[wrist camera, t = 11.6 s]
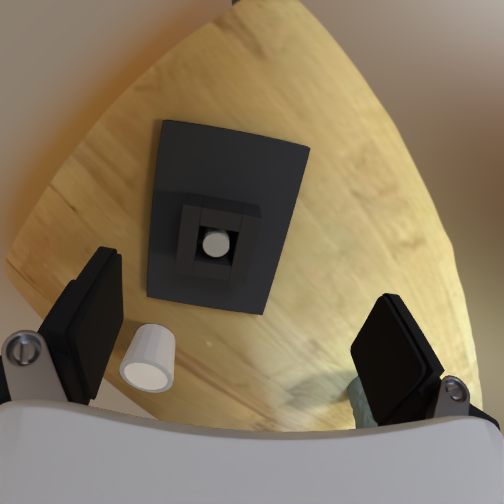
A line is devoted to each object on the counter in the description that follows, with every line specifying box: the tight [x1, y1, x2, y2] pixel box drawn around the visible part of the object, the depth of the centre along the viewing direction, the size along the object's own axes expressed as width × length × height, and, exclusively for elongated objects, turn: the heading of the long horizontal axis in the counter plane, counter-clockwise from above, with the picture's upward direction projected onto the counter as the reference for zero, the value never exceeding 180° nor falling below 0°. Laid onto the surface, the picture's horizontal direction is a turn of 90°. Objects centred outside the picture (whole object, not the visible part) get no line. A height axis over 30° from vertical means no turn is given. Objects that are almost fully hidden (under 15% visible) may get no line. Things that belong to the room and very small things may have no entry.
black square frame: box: [175, 193, 262, 284], centre depth 29 cm, size 7×7×4 cm
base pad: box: [147, 120, 310, 315], centre depth 30 cm, size 20×14×5 cm
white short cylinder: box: [119, 324, 176, 393], centre depth 36 cm, size 7×7×7 cm
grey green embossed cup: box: [348, 376, 378, 429], centre depth 41 cm, size 10×10×12 cm
